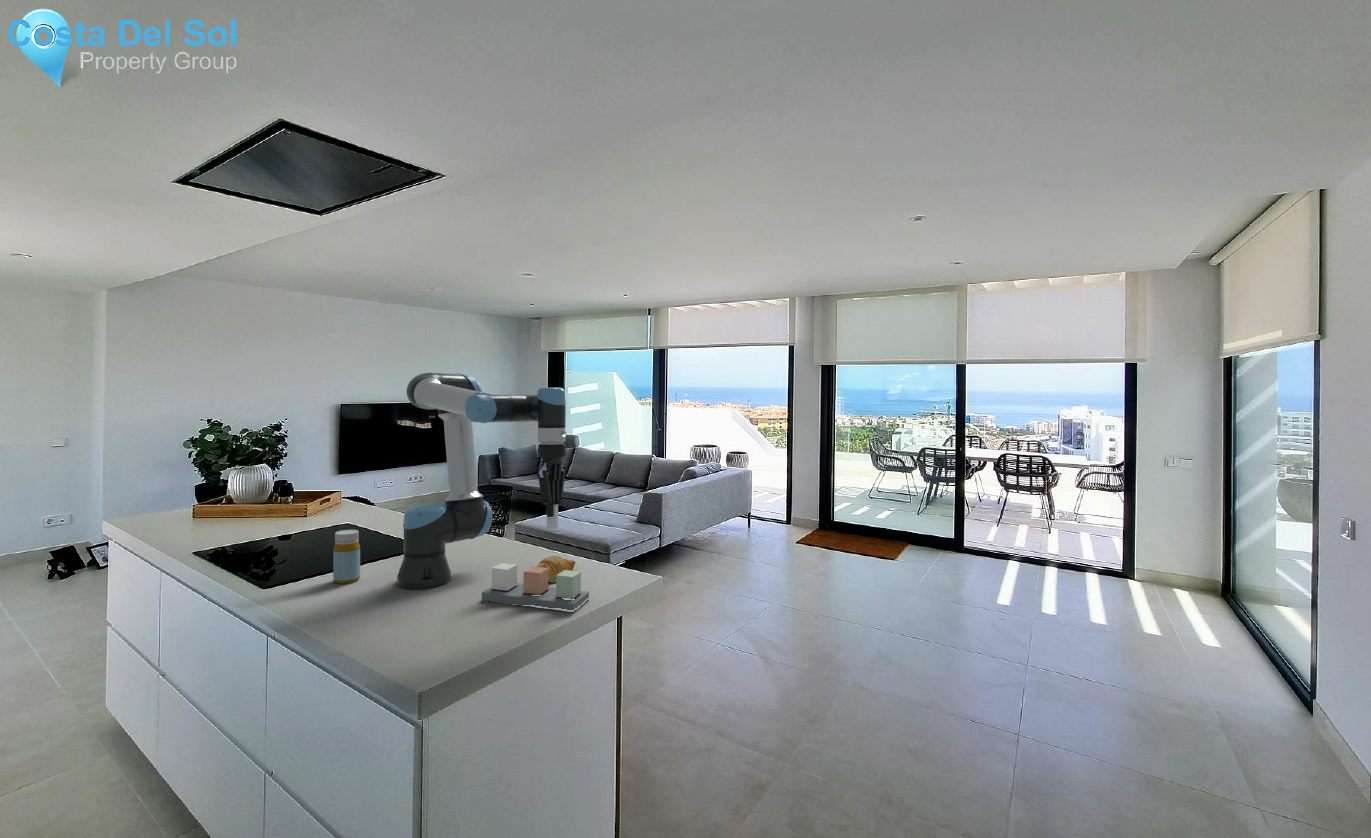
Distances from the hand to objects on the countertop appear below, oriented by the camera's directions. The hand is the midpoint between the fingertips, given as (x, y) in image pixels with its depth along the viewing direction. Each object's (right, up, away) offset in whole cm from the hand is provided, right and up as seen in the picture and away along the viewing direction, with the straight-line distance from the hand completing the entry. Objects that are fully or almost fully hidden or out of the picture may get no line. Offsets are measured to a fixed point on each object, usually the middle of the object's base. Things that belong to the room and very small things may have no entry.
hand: (552, 527), depth 159 cm
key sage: (+4, -19, 0) cm, 19 cm away
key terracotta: (-5, -18, +3) cm, 19 cm away
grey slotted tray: (-5, -21, +3) cm, 22 cm away
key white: (-15, -18, +5) cm, 24 cm away
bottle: (-66, -19, +15) cm, 71 cm away
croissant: (-6, -21, +23) cm, 32 cm away
